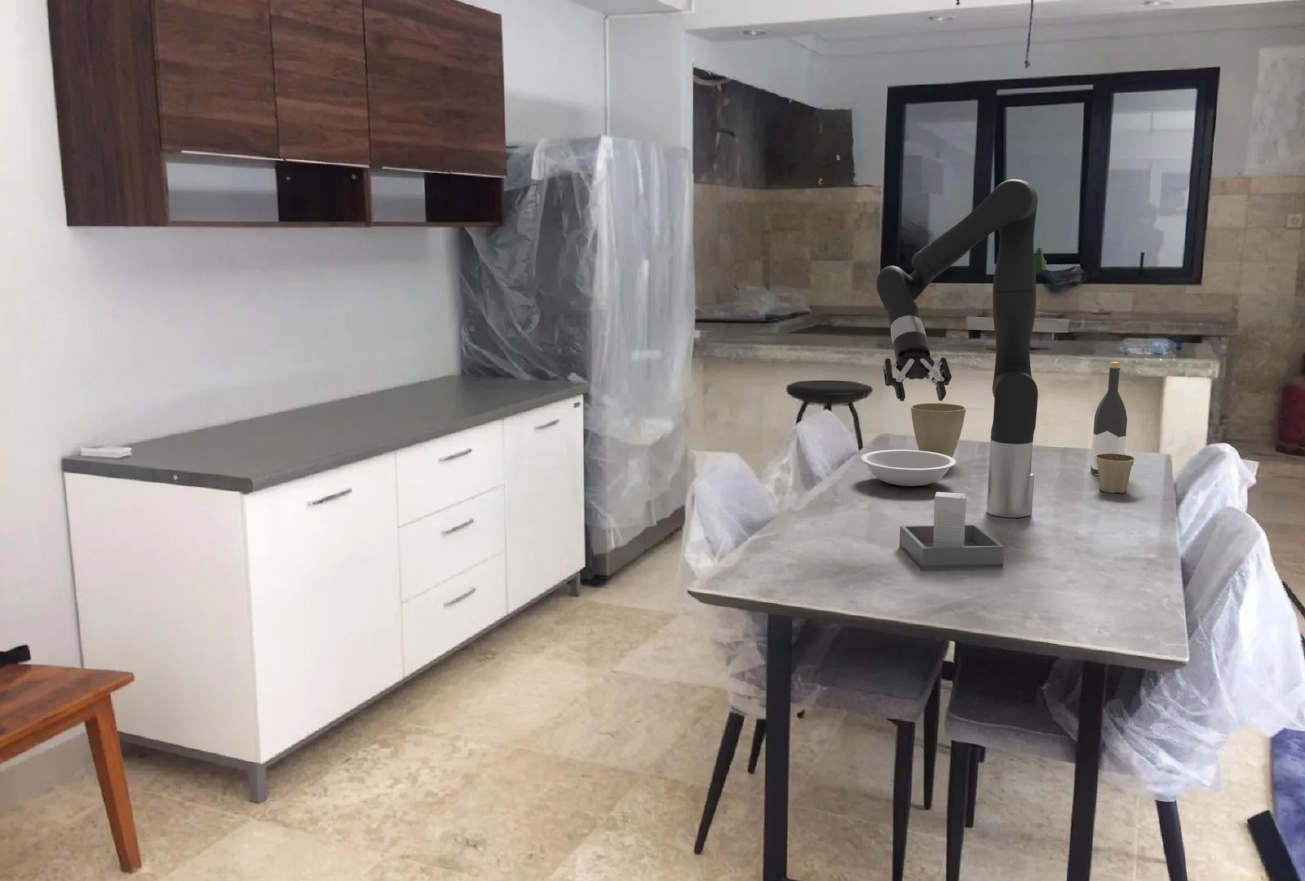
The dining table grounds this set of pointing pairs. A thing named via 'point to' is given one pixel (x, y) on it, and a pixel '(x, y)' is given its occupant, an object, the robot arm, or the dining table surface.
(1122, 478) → the flower pot
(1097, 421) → the wine bottle
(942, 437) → the plant pot
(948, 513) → the skincare box
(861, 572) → the dining table surface
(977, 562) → the gray square tray
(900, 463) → the soup bowl
